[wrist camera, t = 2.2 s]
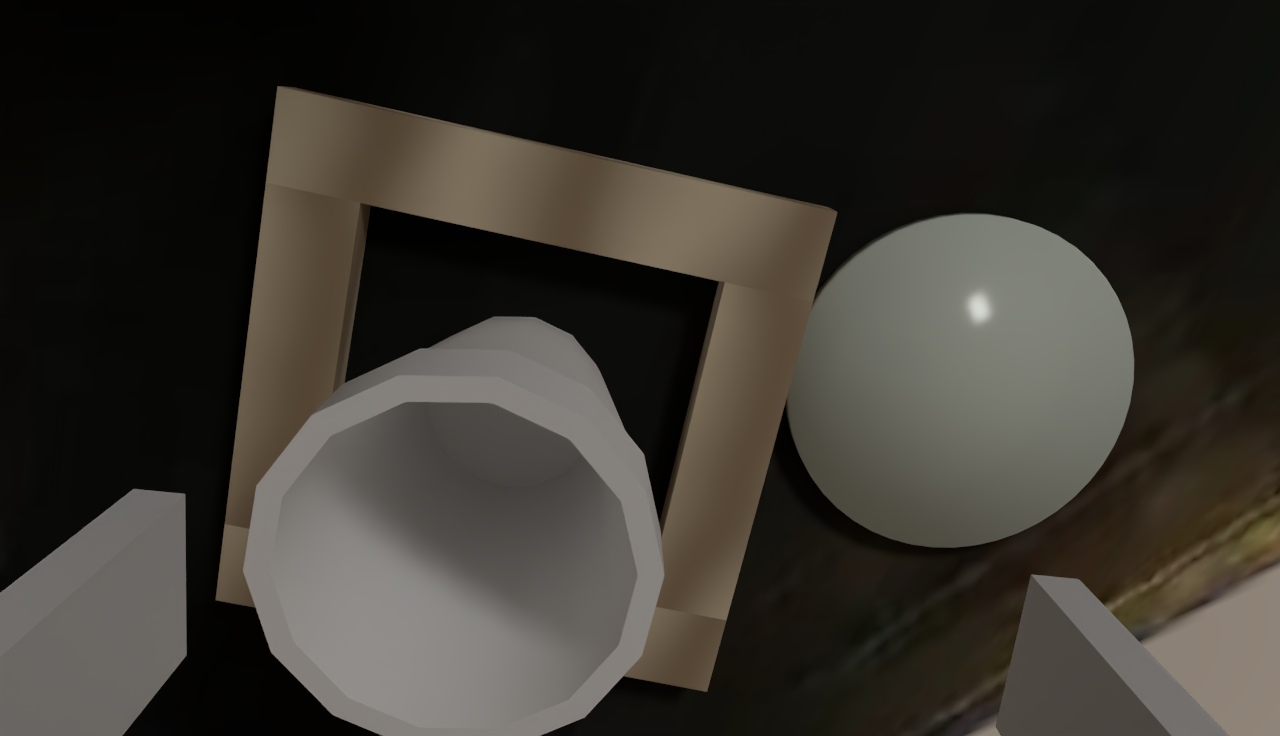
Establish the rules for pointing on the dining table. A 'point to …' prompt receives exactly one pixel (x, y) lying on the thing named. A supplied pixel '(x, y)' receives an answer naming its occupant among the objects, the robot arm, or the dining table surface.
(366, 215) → the birch pocket board
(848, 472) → the pale grey-green round part
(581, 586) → the foam cup
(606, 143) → the dining table surface
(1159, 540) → the dining table surface
